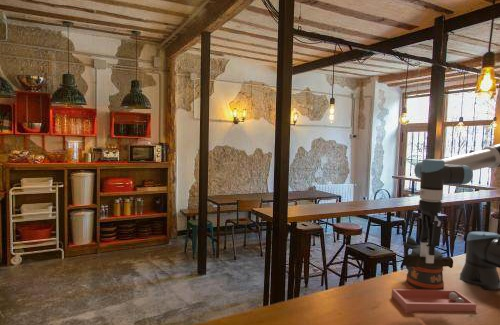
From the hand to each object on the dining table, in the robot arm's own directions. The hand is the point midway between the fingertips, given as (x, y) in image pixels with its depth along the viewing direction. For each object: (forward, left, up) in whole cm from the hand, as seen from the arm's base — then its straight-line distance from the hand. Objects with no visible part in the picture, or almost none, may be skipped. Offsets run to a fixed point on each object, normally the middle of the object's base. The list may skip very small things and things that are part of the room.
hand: (426, 260), depth 128 cm
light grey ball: (-13, -2, -16) cm, 21 cm away
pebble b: (-13, +2, -16) cm, 21 cm away
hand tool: (0, +1, -2) cm, 3 cm away
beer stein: (-7, -17, -18) cm, 25 cm away
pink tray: (-3, 0, -17) cm, 18 cm away
